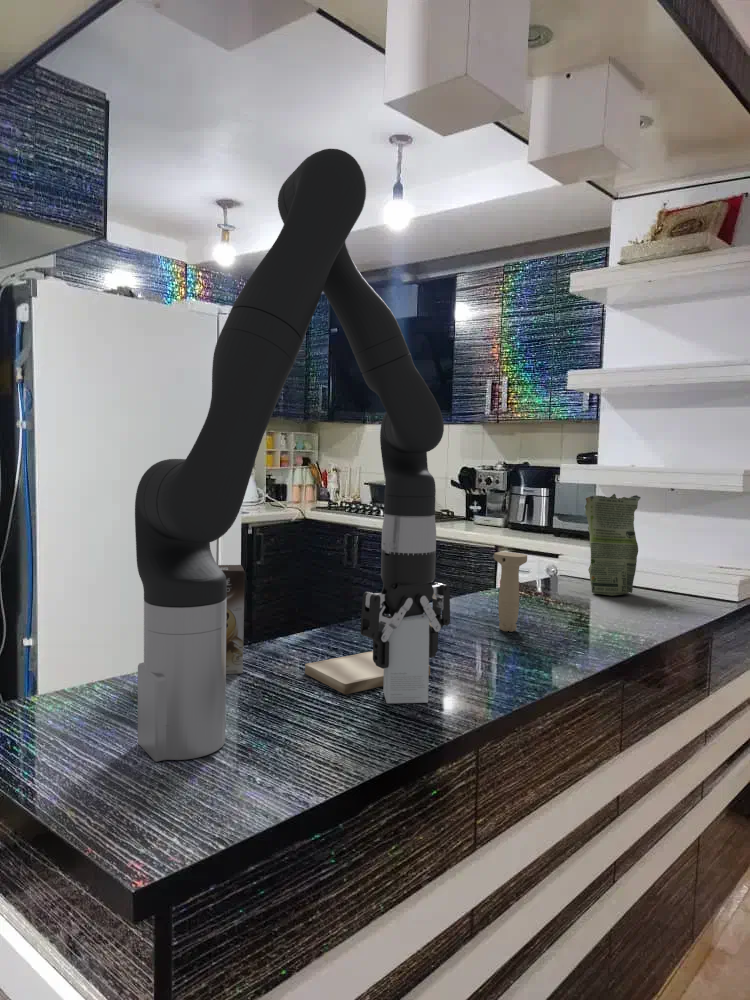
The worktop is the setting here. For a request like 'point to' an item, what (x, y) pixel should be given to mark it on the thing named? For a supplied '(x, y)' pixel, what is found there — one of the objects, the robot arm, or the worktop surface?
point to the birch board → (348, 673)
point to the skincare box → (408, 661)
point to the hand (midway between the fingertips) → (405, 661)
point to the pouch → (612, 543)
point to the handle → (509, 588)
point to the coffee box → (234, 617)
